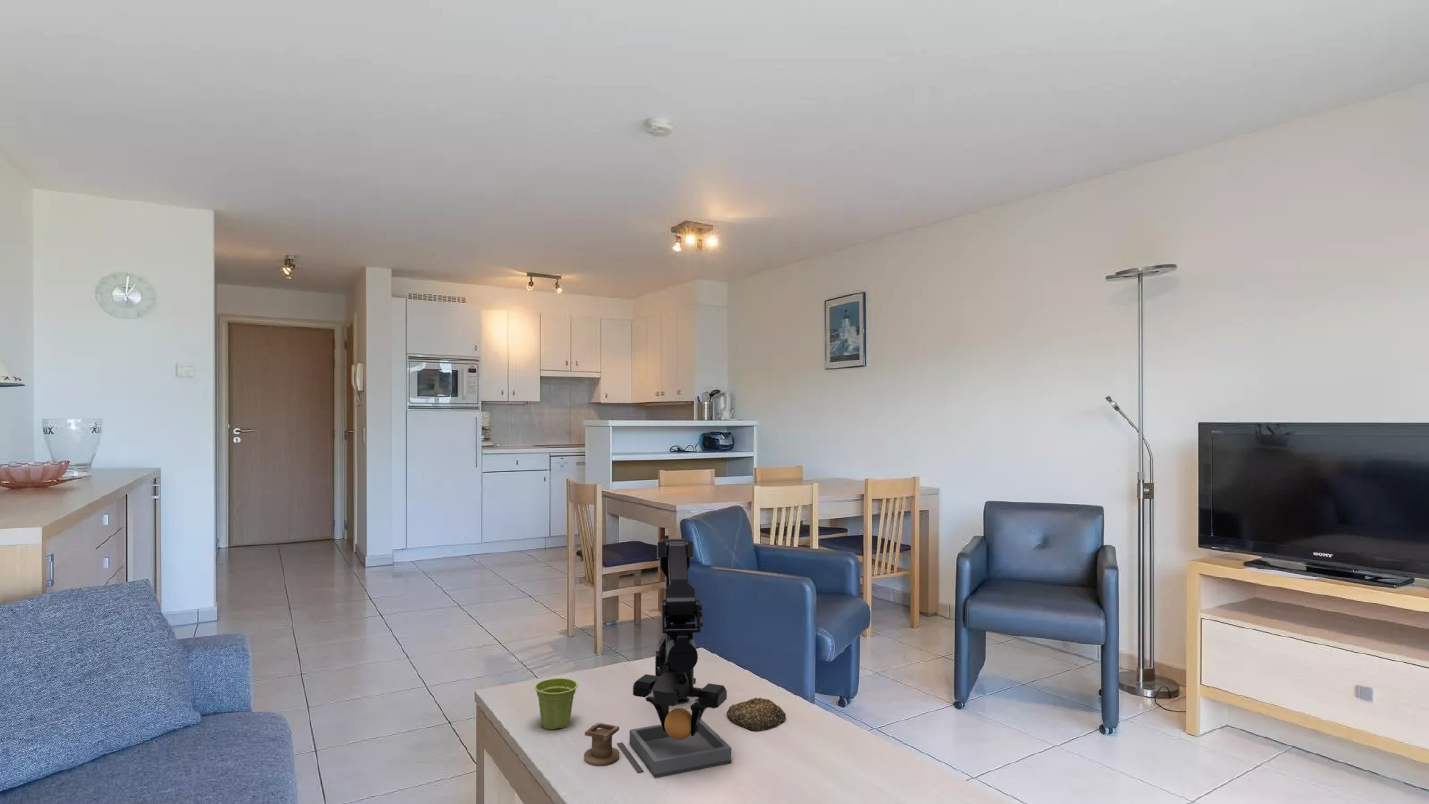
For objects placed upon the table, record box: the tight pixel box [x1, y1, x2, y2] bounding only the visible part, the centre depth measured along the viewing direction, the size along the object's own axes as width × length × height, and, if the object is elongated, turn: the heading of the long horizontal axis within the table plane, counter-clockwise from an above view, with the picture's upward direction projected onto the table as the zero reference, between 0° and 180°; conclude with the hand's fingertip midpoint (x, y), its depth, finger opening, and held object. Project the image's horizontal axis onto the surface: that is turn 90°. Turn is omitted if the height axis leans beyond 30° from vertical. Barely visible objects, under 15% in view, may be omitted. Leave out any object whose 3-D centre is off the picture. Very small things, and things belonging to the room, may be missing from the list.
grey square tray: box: [628, 718, 732, 779], centre depth 153 cm, size 16×16×3 cm
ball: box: [664, 707, 692, 740], centre depth 153 cm, size 6×6×6 cm
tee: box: [583, 722, 620, 767], centre depth 151 cm, size 7×7×6 cm
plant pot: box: [534, 677, 579, 730], centre depth 167 cm, size 9×9×9 cm
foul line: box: [616, 741, 644, 774], centre depth 151 cm, size 1×14×1 cm, turn 24°
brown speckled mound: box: [726, 697, 787, 732], centre depth 171 cm, size 13×12×5 cm
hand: (679, 733), depth 153 cm, fingers closed on ball, 6 cm apart
